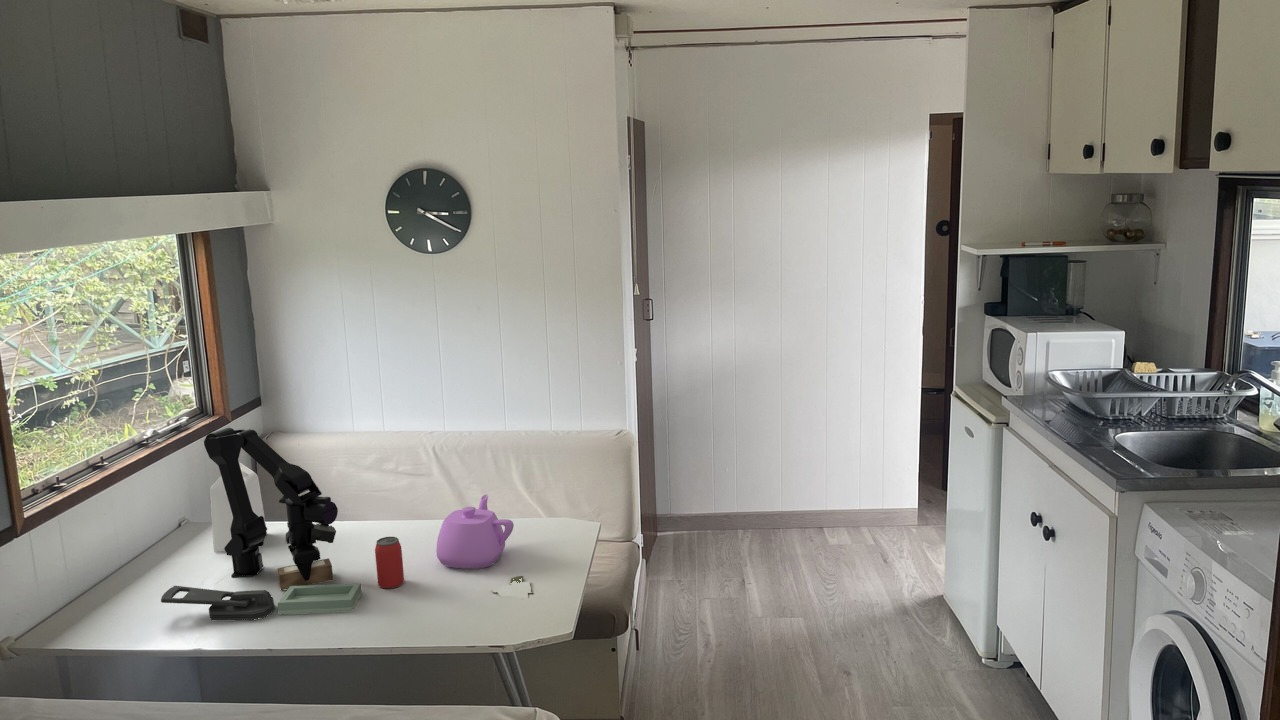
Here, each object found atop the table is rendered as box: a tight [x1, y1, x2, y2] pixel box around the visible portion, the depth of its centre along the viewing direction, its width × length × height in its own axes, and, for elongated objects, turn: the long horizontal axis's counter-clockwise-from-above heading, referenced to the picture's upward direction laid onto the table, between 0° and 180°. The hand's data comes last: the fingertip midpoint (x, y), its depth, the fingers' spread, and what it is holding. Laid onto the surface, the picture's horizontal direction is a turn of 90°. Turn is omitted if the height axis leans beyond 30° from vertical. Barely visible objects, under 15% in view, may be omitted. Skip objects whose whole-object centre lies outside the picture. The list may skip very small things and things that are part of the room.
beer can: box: [374, 536, 405, 590], centre depth 243 cm, size 7×7×12 cm
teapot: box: [435, 494, 515, 569], centre depth 259 cm, size 23×21×15 cm
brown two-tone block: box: [276, 557, 334, 591], centre depth 247 cm, size 13×5×5 cm, turn 116°
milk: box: [209, 459, 268, 553], centre depth 273 cm, size 12×12×26 cm
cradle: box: [277, 582, 363, 616], centre depth 233 cm, size 18×10×3 cm, turn 92°
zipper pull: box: [160, 585, 275, 621], centre depth 229 cm, size 9×7×25 cm
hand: (305, 576), depth 247 cm, fingers open, 5 cm apart
